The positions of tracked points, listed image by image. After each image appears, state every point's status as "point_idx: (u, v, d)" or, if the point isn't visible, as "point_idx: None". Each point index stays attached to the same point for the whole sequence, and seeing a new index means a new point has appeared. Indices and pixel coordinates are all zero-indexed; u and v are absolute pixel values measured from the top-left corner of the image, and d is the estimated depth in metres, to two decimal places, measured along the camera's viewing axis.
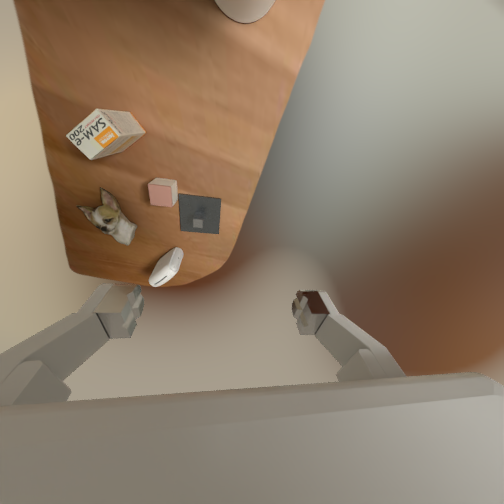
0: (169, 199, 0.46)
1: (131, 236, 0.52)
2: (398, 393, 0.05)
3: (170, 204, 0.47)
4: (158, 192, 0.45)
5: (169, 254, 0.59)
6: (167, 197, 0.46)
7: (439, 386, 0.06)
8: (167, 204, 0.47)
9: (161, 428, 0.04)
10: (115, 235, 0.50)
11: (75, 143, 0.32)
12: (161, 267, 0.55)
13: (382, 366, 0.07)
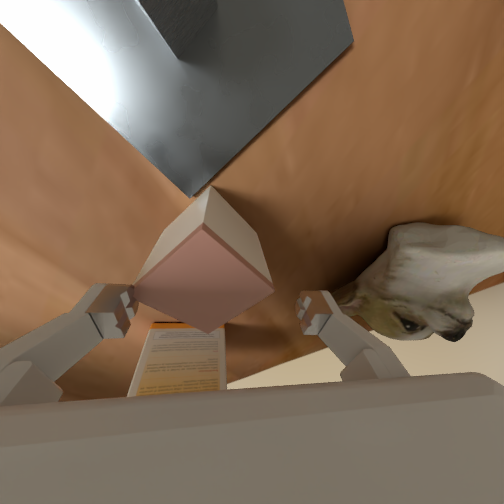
0: (178, 263, 0.08)
1: (467, 249, 0.12)
2: (398, 393, 0.05)
3: (197, 245, 0.07)
4: (200, 305, 0.10)
5: None
6: (181, 275, 0.08)
7: (439, 386, 0.06)
8: (212, 253, 0.08)
9: (161, 428, 0.04)
10: (471, 288, 0.13)
11: None
12: None
13: (386, 366, 0.07)
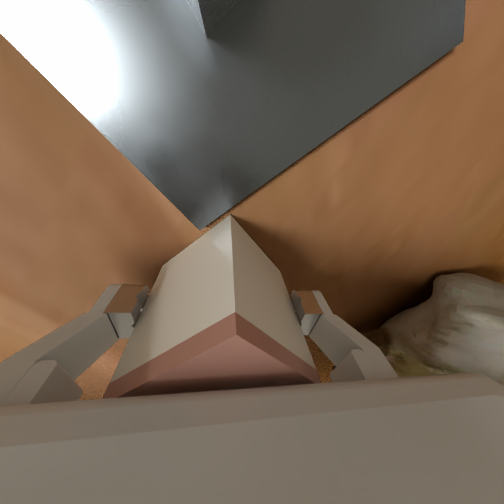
0: (188, 372, 0.05)
1: None
2: (398, 393, 0.05)
3: (224, 352, 0.04)
4: None
5: None
6: (189, 383, 0.05)
7: (439, 386, 0.06)
8: (246, 360, 0.05)
9: (161, 428, 0.04)
10: None
11: None
12: None
13: (374, 367, 0.07)
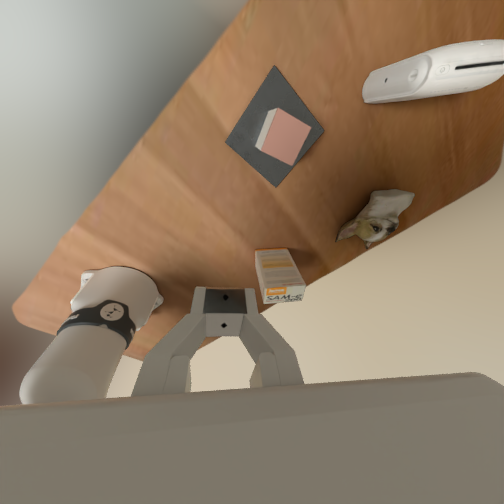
0: (274, 127, 0.24)
1: (395, 194, 0.34)
2: (398, 393, 0.05)
3: (278, 115, 0.23)
4: (285, 147, 0.25)
5: None
6: (276, 132, 0.24)
7: (439, 386, 0.06)
8: (283, 117, 0.23)
9: (161, 428, 0.04)
10: (398, 212, 0.35)
11: (301, 296, 0.36)
12: (430, 96, 0.22)
13: (280, 372, 0.06)
